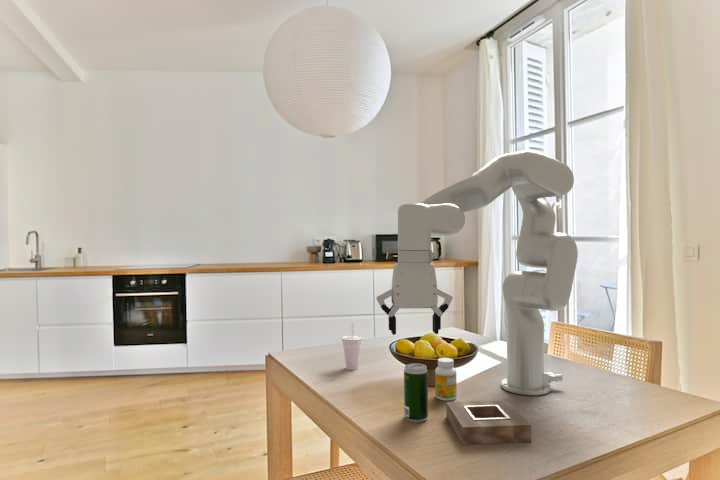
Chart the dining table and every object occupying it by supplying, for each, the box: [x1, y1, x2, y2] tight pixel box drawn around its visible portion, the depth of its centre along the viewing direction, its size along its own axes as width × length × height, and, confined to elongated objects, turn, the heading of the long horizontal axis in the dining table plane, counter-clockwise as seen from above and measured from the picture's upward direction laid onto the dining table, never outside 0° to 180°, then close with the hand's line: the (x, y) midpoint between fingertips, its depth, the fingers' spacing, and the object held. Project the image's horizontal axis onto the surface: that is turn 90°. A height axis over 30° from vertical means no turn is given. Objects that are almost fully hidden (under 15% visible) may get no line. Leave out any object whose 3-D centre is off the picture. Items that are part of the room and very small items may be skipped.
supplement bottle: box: [434, 357, 458, 402], centre depth 122 cm, size 5×5×10 cm
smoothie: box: [341, 323, 363, 371], centre depth 149 cm, size 6×6×14 cm
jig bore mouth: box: [463, 405, 510, 421], centre depth 103 cm, size 8×8×1 cm
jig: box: [445, 399, 532, 446], centre depth 103 cm, size 14×14×4 cm
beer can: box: [403, 362, 429, 424], centre depth 109 cm, size 5×5×12 cm
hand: (414, 333), depth 109 cm, fingers open, 9 cm apart
